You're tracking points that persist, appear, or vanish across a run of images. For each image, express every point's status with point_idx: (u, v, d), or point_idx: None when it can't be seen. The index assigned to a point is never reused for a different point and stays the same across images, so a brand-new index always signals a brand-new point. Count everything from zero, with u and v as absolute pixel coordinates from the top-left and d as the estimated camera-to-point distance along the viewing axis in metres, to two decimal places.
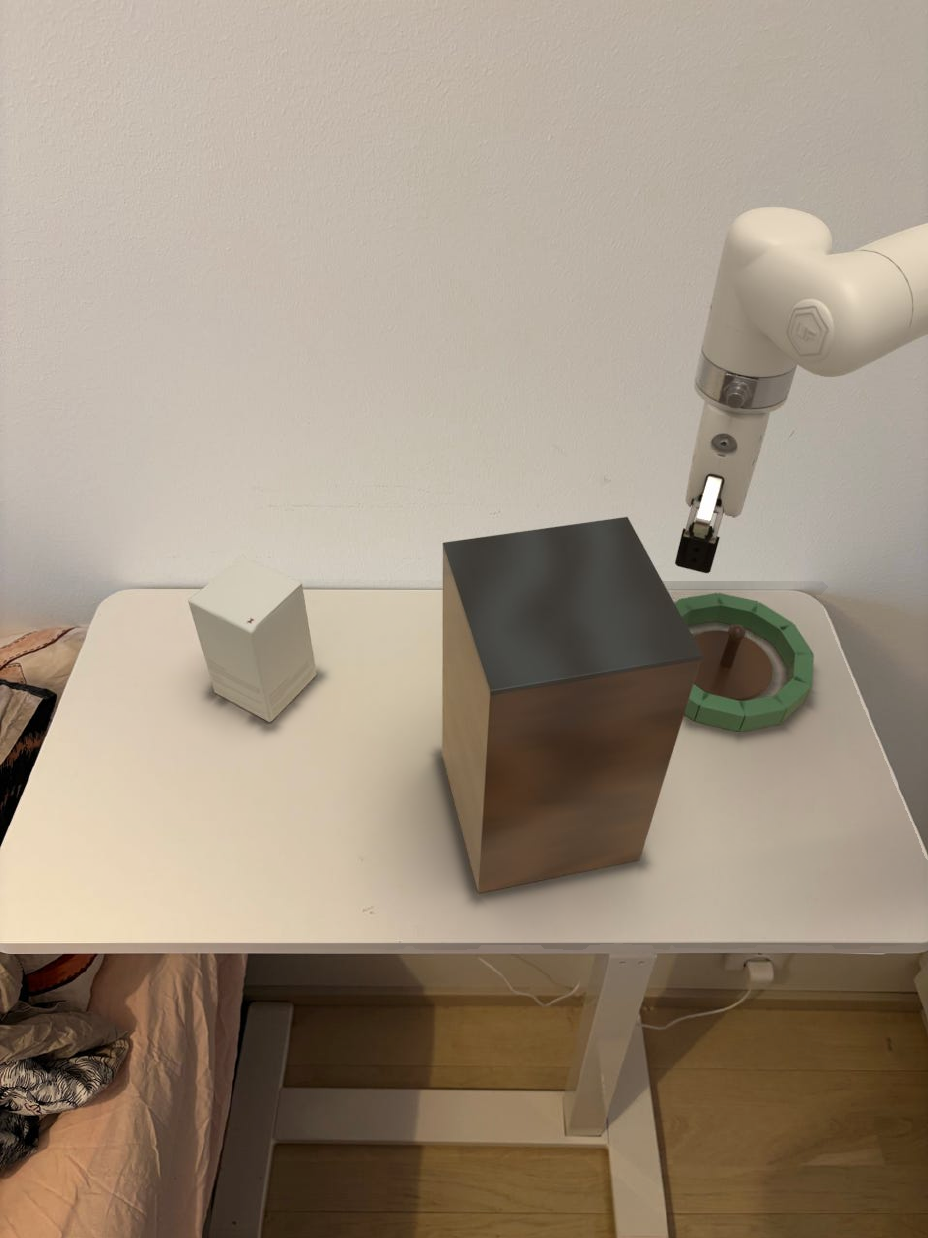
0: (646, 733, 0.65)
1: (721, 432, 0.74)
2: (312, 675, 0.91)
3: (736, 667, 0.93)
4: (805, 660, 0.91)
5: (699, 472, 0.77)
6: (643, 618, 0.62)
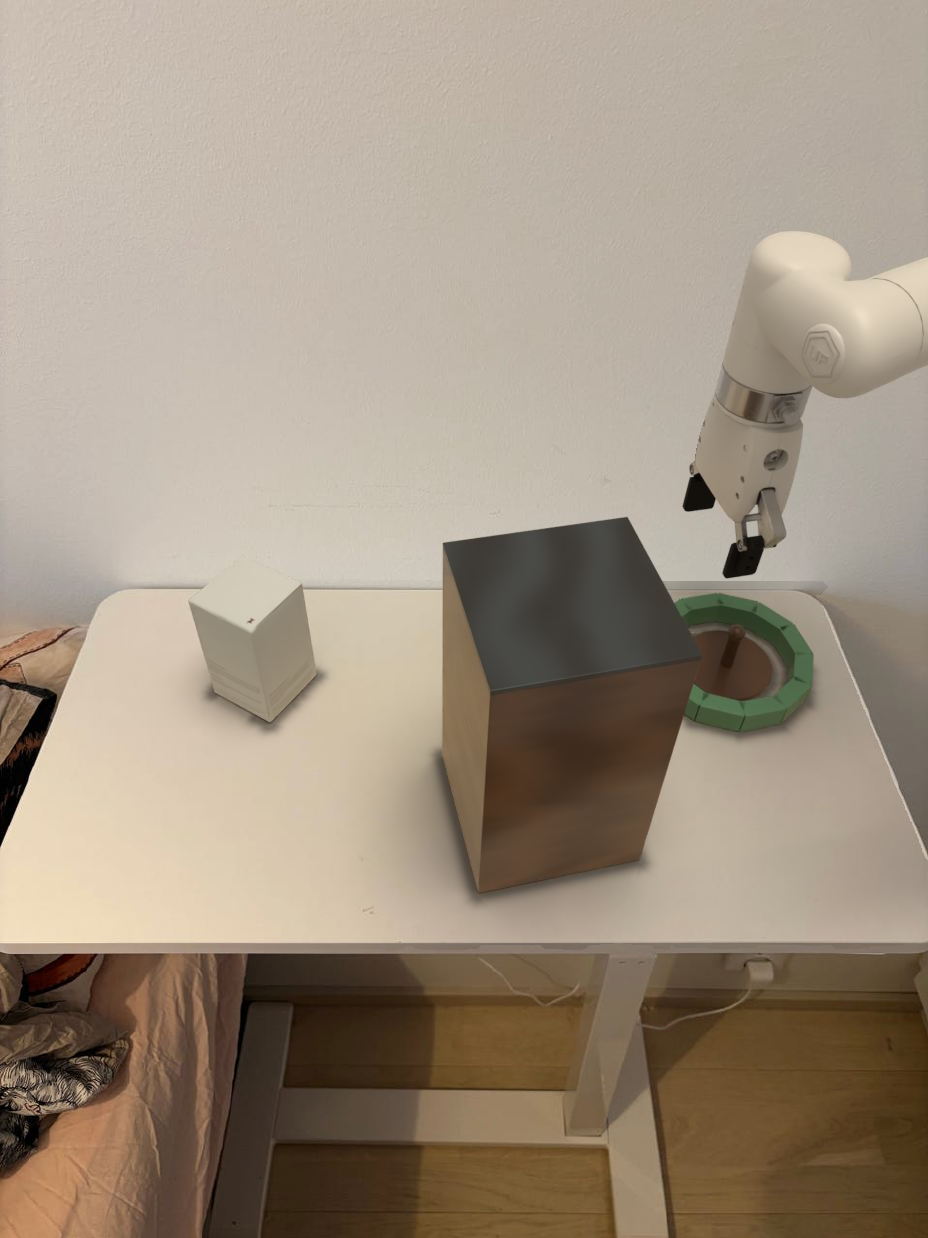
0: (646, 733, 0.65)
1: (773, 449, 0.77)
2: (312, 675, 0.91)
3: (736, 667, 0.93)
4: (805, 660, 0.91)
5: (752, 490, 0.80)
6: (643, 618, 0.62)
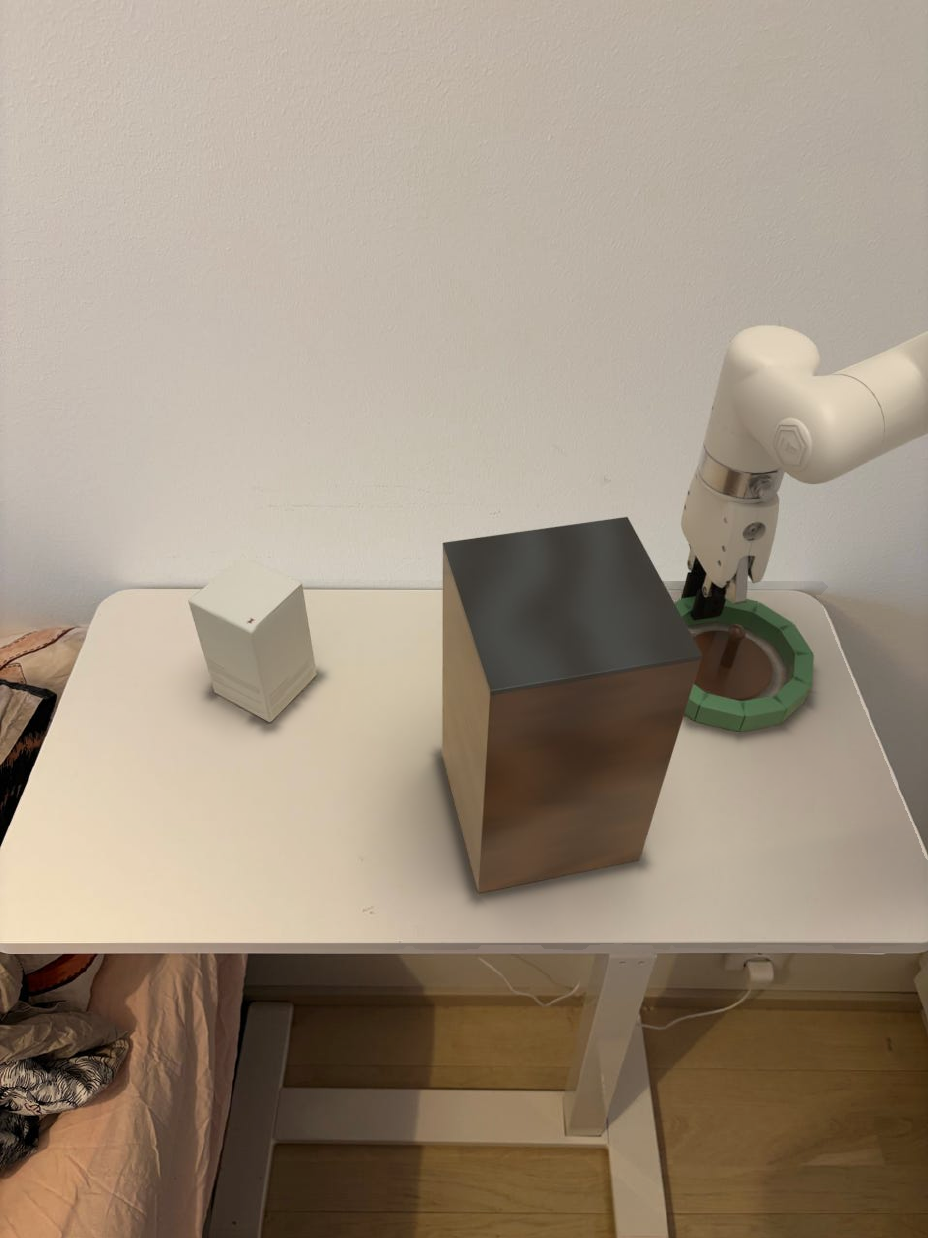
0: (646, 733, 0.65)
1: (751, 522, 0.83)
2: (312, 675, 0.91)
3: (736, 667, 0.93)
4: (805, 660, 0.91)
5: (733, 559, 0.85)
6: (643, 618, 0.62)
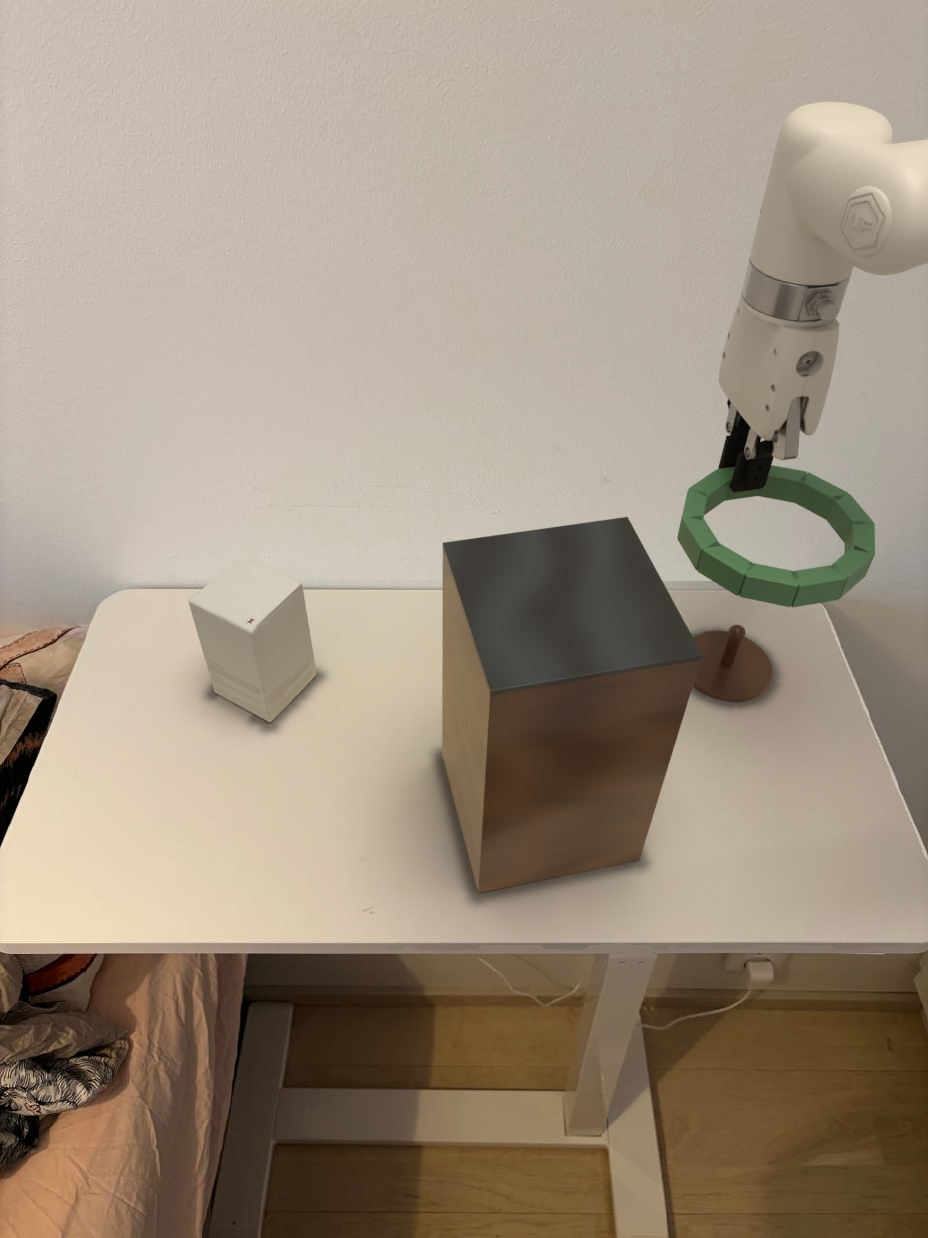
0: (646, 733, 0.65)
1: (807, 351, 0.70)
2: (312, 675, 0.91)
3: (736, 667, 0.93)
4: (865, 529, 0.78)
5: (784, 400, 0.73)
6: (643, 618, 0.62)
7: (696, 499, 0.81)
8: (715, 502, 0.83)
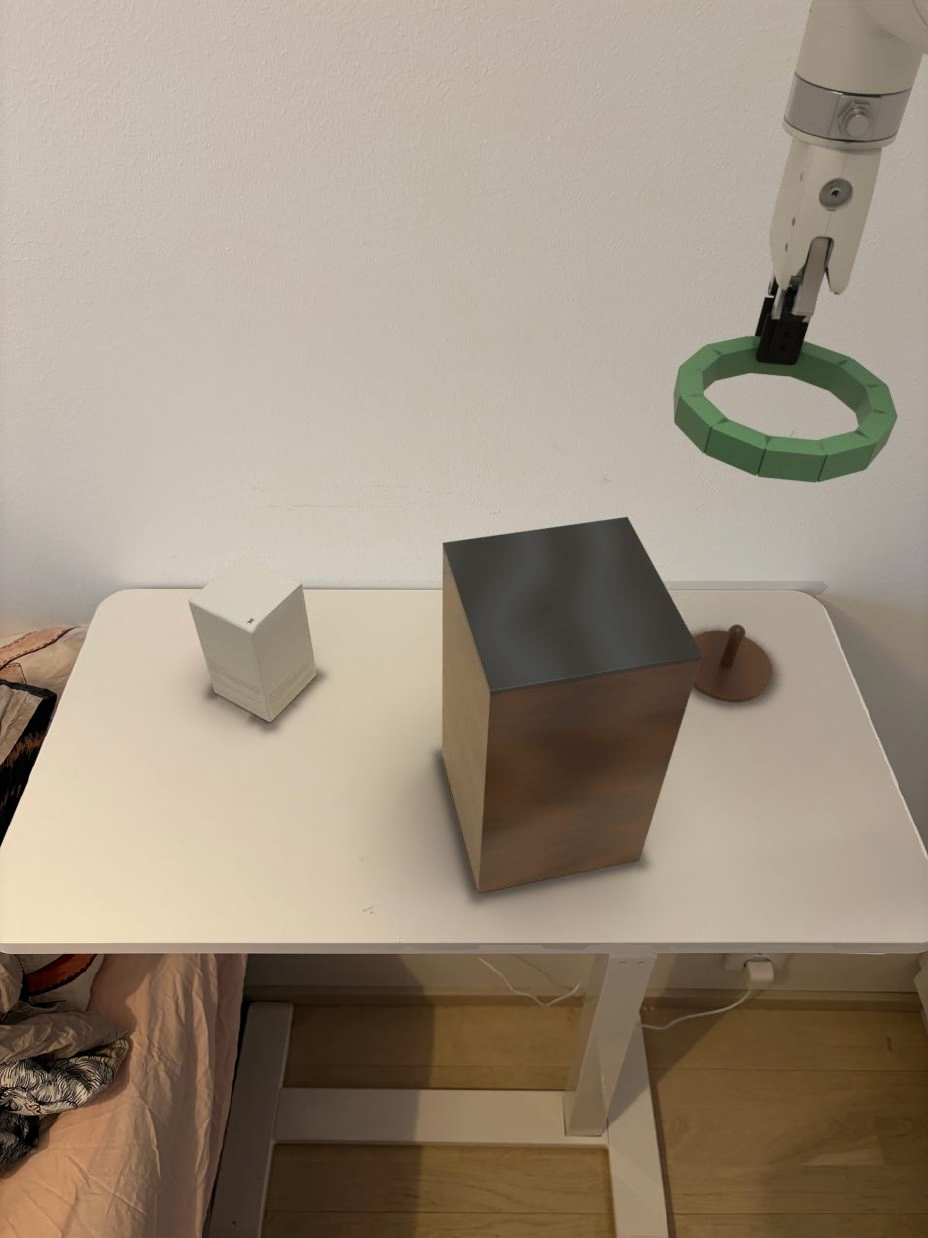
0: (646, 733, 0.65)
1: (833, 177, 0.61)
2: (312, 675, 0.91)
3: (736, 667, 0.93)
4: (882, 419, 0.68)
5: (803, 237, 0.64)
6: (643, 618, 0.62)
7: (707, 354, 0.74)
8: (735, 369, 0.75)
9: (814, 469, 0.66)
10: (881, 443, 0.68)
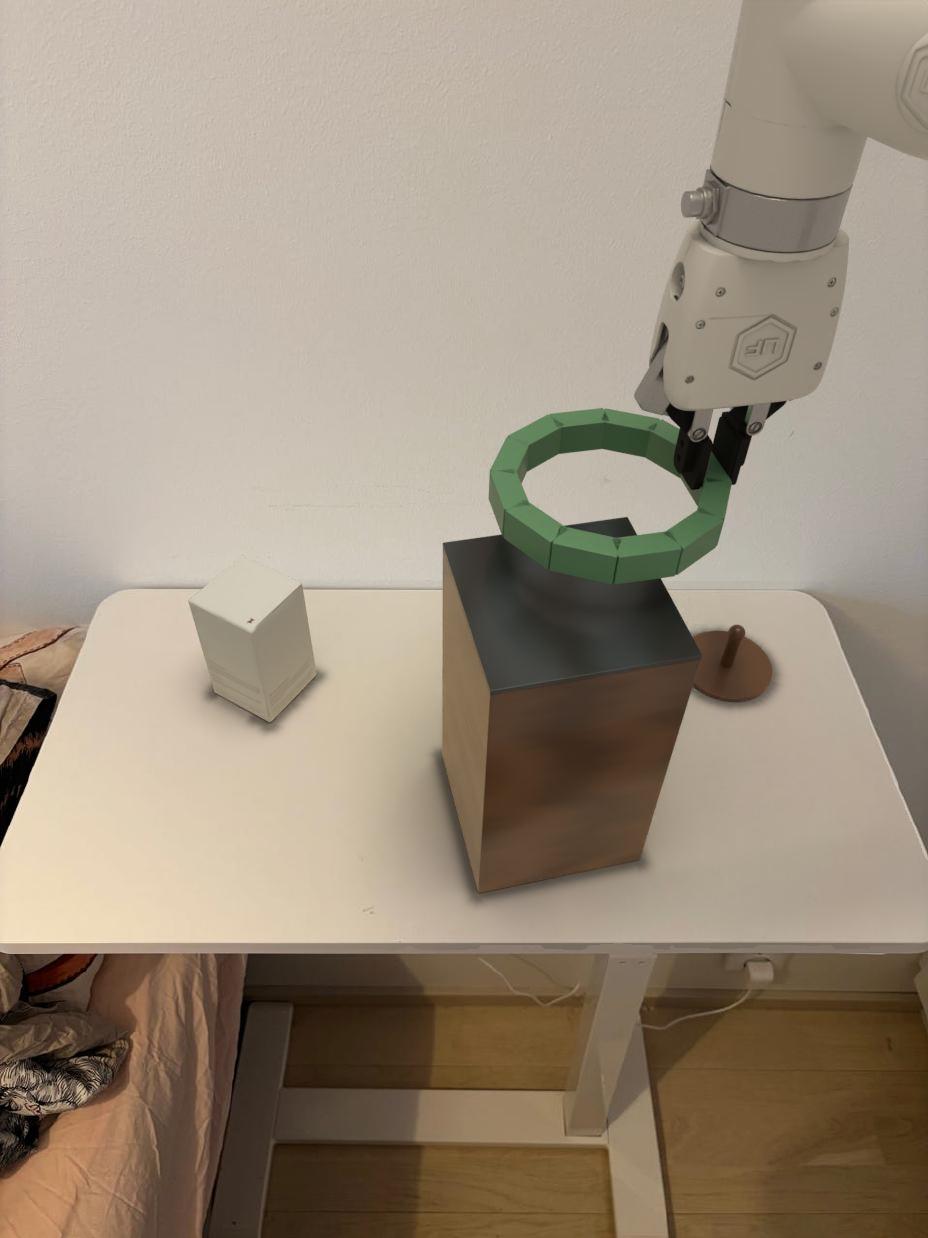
0: (646, 733, 0.65)
1: (680, 259, 0.53)
2: (312, 675, 0.91)
3: (736, 667, 0.93)
4: (602, 545, 0.58)
5: (658, 317, 0.56)
6: (643, 618, 0.62)
7: (640, 421, 0.67)
8: (664, 460, 0.67)
9: (501, 519, 0.61)
10: (581, 563, 0.58)
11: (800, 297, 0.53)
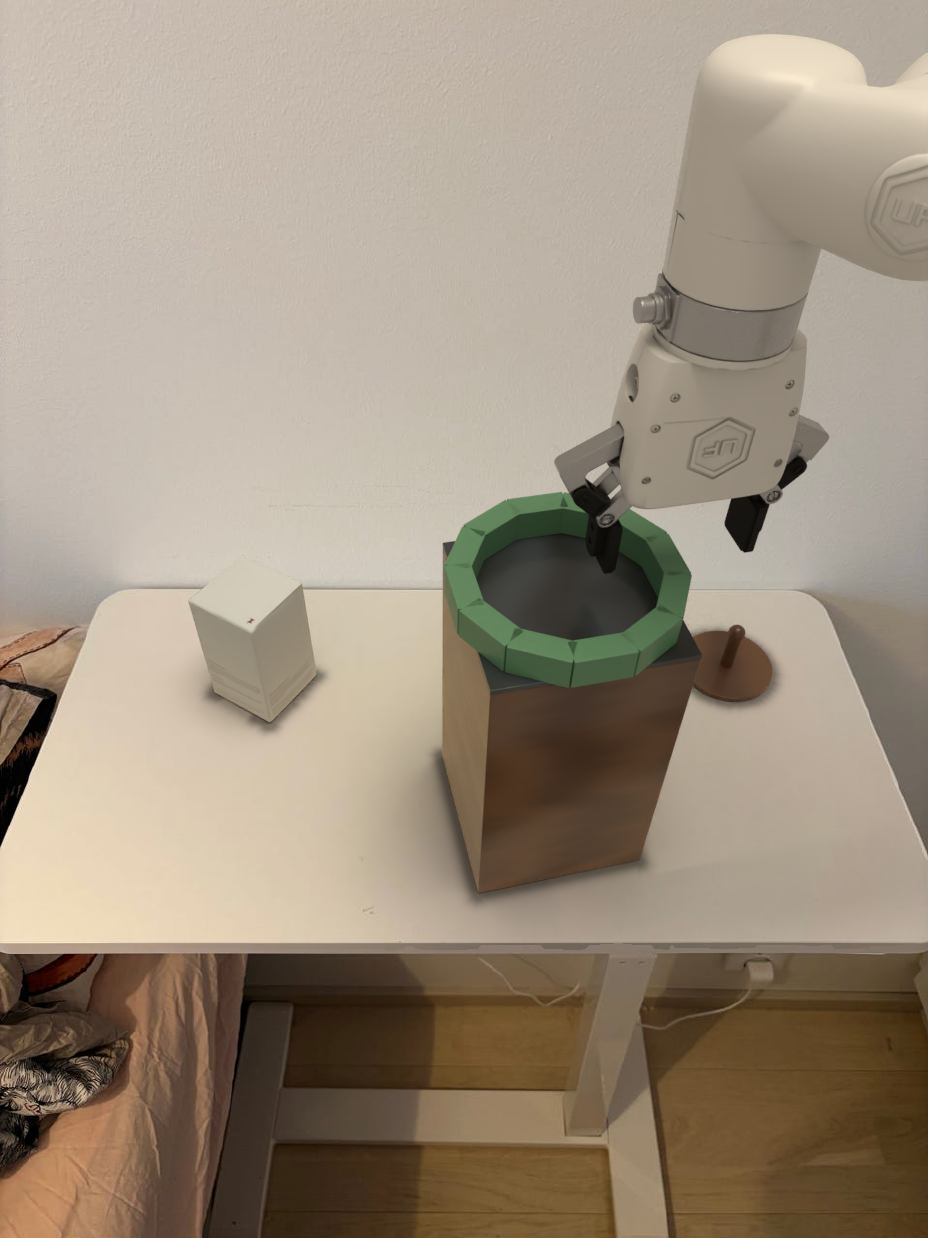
0: (646, 733, 0.65)
1: (634, 361, 0.51)
2: (312, 675, 0.91)
3: (736, 667, 0.93)
4: (557, 649, 0.56)
5: (614, 414, 0.55)
6: None
7: None
8: (624, 546, 0.65)
9: (456, 618, 0.60)
10: (536, 667, 0.57)
11: (757, 400, 0.51)
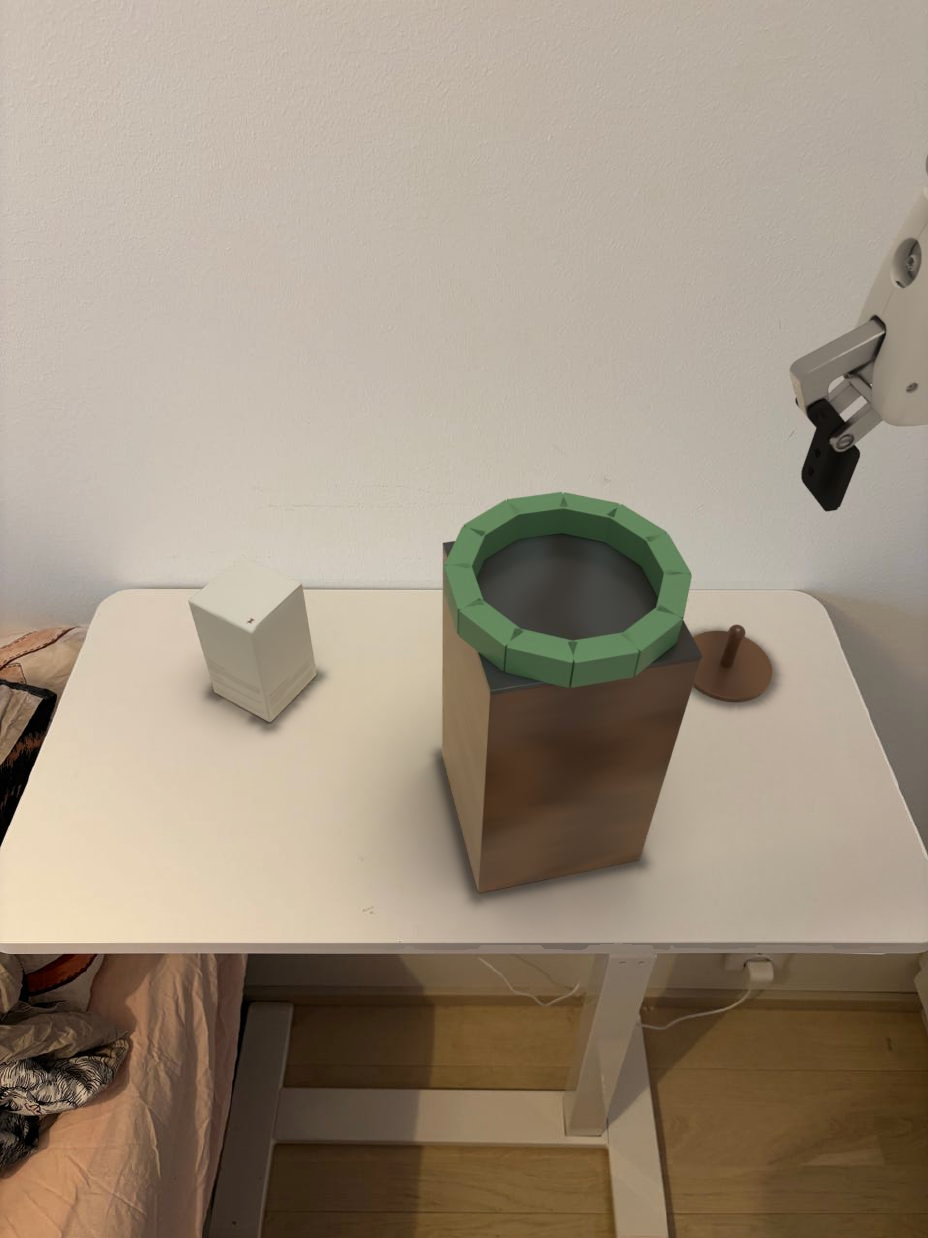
0: (646, 733, 0.65)
1: (912, 235, 0.41)
2: (312, 675, 0.91)
3: (736, 667, 0.93)
4: (557, 649, 0.56)
5: (866, 309, 0.45)
6: None
7: (600, 507, 0.66)
8: (624, 546, 0.65)
9: (456, 618, 0.60)
10: (536, 667, 0.57)
11: None
